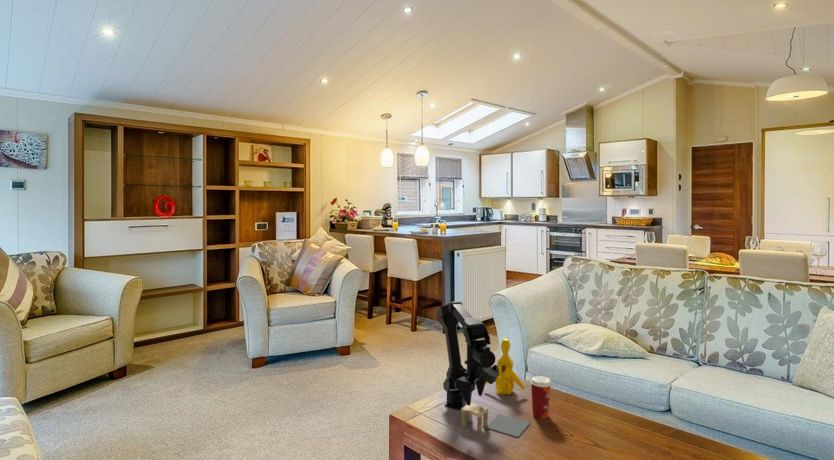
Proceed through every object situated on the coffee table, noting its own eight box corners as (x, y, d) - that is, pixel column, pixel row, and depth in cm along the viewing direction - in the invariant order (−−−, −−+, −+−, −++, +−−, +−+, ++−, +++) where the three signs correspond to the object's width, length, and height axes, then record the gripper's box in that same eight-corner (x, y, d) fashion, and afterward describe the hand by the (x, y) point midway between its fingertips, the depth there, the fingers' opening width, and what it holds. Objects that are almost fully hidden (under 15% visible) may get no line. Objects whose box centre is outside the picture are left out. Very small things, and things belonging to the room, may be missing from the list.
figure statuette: (481, 392, 192) (482, 341, 191) (485, 385, 200) (485, 336, 198) (524, 398, 186) (525, 345, 185) (526, 391, 194) (527, 340, 192)
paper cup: (552, 421, 167) (552, 384, 166) (530, 419, 169) (530, 382, 168) (550, 411, 175) (550, 376, 174) (529, 409, 176) (530, 374, 175)
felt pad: (485, 428, 162) (485, 427, 162) (499, 414, 172) (499, 413, 172) (518, 437, 156) (518, 436, 156) (530, 423, 166) (530, 422, 166)
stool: (461, 426, 164) (461, 408, 163) (469, 420, 168) (469, 402, 168) (480, 432, 159) (480, 414, 159) (487, 425, 164) (487, 407, 164)
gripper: (483, 370, 150) (483, 416, 151) (506, 354, 165) (506, 396, 167) (454, 364, 156) (454, 408, 157) (478, 348, 172) (478, 389, 173)
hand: (474, 400), depth 163 cm, fingers open, 9 cm apart
